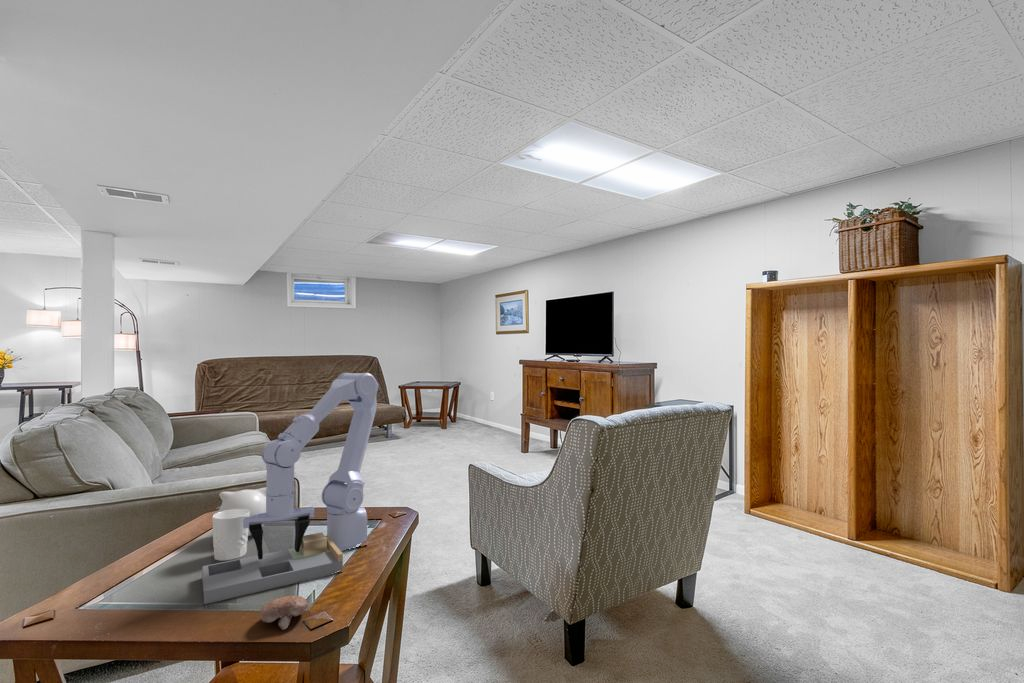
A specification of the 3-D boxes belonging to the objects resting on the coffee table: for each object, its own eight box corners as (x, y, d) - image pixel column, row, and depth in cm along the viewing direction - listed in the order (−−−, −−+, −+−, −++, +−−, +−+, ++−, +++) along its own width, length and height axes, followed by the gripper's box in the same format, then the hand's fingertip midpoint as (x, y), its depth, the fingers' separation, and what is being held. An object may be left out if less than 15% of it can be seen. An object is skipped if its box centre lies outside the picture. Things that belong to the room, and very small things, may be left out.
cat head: (208, 549, 121) (210, 500, 122) (213, 533, 133) (214, 488, 133) (275, 539, 128) (276, 492, 129) (274, 525, 140) (275, 482, 140)
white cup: (232, 563, 113) (233, 519, 113) (203, 560, 115) (204, 517, 115) (256, 550, 121) (257, 509, 121) (228, 548, 122) (229, 508, 123)
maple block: (321, 544, 118) (321, 532, 118) (326, 551, 113) (326, 538, 113) (299, 549, 115) (299, 536, 115) (303, 556, 111) (304, 542, 111)
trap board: (327, 551, 120) (327, 535, 120) (342, 572, 108) (342, 553, 108) (202, 578, 105) (202, 559, 105) (204, 604, 94) (204, 583, 94)
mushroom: (312, 628, 85) (314, 596, 93) (294, 604, 83) (298, 573, 91) (270, 652, 84) (276, 618, 91) (250, 628, 82) (258, 595, 89)
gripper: (310, 485, 118) (309, 542, 117) (242, 494, 110) (240, 555, 109) (316, 491, 112) (315, 551, 112) (245, 501, 104) (243, 566, 103)
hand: (278, 554), depth 110 cm, fingers open, 7 cm apart
